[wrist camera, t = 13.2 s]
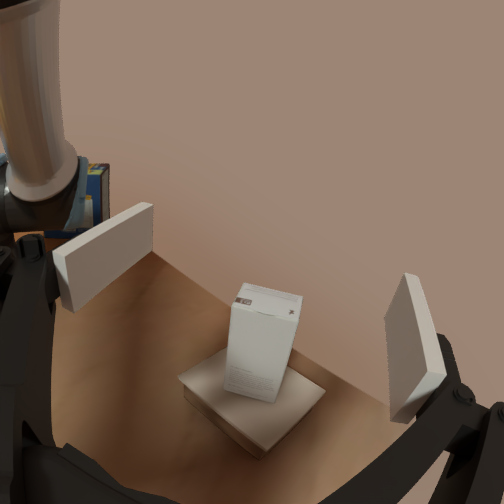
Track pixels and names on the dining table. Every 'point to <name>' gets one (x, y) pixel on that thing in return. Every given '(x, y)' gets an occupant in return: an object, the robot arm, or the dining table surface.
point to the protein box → (91, 202)
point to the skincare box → (260, 341)
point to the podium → (249, 405)
